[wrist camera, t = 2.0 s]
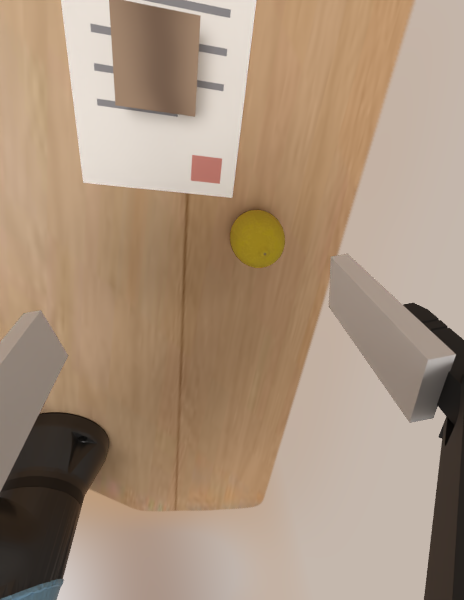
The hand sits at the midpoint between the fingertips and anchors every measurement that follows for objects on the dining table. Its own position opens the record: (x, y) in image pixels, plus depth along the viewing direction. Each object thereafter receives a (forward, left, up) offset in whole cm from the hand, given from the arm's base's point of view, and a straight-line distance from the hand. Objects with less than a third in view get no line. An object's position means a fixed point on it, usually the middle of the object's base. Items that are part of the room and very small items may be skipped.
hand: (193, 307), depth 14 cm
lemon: (+7, -3, -22) cm, 23 cm away
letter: (-3, +10, -22) cm, 24 cm away
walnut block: (-3, +10, -21) cm, 24 cm away
